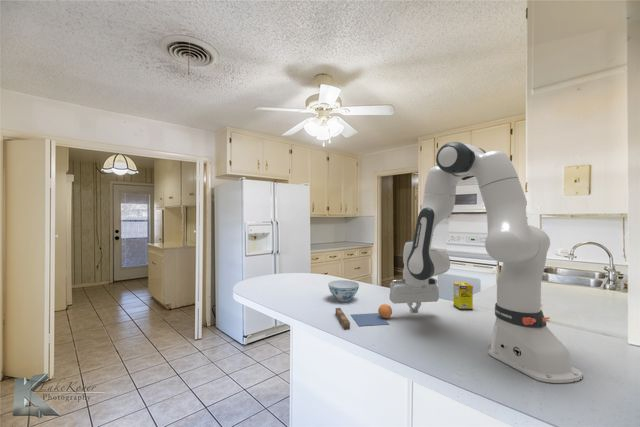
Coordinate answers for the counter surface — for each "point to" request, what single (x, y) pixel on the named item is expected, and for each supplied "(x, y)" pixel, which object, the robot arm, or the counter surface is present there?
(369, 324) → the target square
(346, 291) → the chinaware
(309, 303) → the counter surface
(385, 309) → the ball
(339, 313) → the bar
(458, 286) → the supplement box
